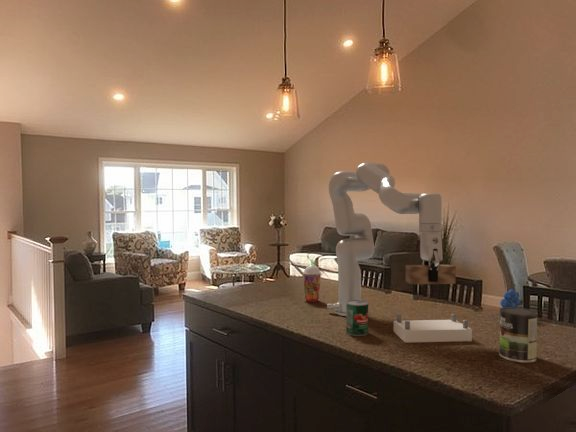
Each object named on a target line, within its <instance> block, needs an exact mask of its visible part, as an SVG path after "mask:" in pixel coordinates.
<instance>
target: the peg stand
mask: <svg viewBox="0 0 576 432" xmlns="http://www.w3.org/2000/svg"><path fill="white" fill-rule="evenodd" d="M393 332H394V333H395V335H397V336H398V337H399V338H400V339H401V340H402V341H403V342H404V343H439V342H440V343H441V342H442V343H443V342H446V343H447V342H448V343H449V342H473V329H472V328H470V327H469V321H468V320H467V319H463V320H462V322H461V321H459V320H457V313H451V319H417V320H416V319H415V320H413V319H412V320H408V319H406V320H402V314H396V320H393Z"/></svg>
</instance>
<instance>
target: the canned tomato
mask: <svg viewBox="0 0 576 432" xmlns="http://www.w3.org/2000/svg"><path fill="white" fill-rule="evenodd" d="M345 317H346V319H345V320H346V325H345V326H346V327H345V328H346V329H345V330H346V331H345V332H346V334H347V335H349V336H354V337H364V336H367V335H368V334H369V302H368V301H366V300H362V299H361V300H351V301H347V302H346V316H345Z"/></svg>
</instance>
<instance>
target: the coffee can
mask: <svg viewBox="0 0 576 432" xmlns="http://www.w3.org/2000/svg"><path fill="white" fill-rule="evenodd" d="M517 307H518V306H517ZM517 307H505V308H501V307H500V308H501V309H500V308H499V309H500V310H499V314H500V315H499V353H498V355H499V356H500V358H503V359H504V360H507V361H511V362H514V363H523V364H524V363H527V364H528V363H534V362H537V348H538V347H537V346H538V345H537V343H538V338H537V337H538V336H537V335H538V315H539V314H538V312H537V311H536V310H533V309H529V308H524V307H518V308H517Z"/></svg>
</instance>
